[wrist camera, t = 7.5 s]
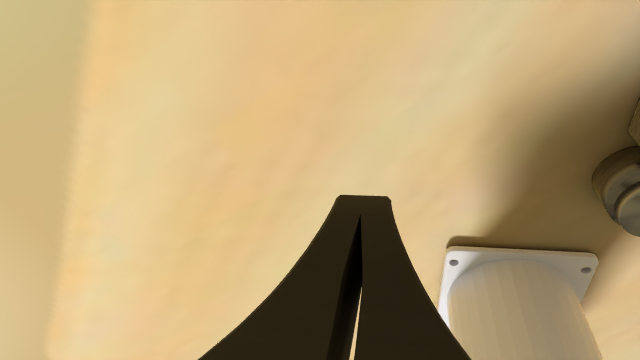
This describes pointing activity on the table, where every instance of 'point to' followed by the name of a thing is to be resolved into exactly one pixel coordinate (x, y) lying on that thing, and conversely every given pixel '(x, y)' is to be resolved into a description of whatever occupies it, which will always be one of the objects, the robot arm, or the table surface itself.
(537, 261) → the robot arm
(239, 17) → the table surface
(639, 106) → the bar
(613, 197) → the tongs base
